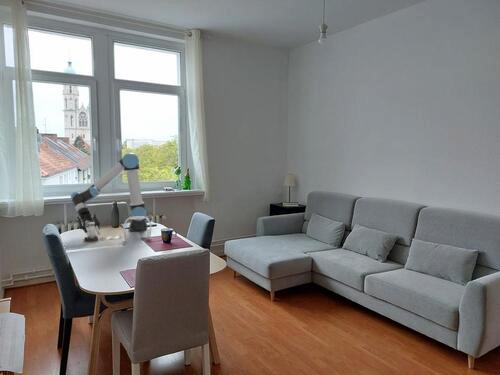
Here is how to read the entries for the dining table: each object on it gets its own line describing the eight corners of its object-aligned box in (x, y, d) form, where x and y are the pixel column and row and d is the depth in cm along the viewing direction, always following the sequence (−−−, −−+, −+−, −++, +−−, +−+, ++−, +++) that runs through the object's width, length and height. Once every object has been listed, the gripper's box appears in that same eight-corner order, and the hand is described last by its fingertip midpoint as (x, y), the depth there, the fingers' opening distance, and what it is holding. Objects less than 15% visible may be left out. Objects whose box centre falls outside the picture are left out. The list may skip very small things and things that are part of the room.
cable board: (120, 237, 270) (120, 232, 270) (122, 240, 261) (121, 235, 261) (83, 241, 259) (83, 236, 259) (83, 244, 250) (83, 239, 250)
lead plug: (95, 238, 260) (94, 221, 259) (95, 240, 256) (94, 222, 255) (88, 239, 258) (87, 222, 257) (88, 241, 254) (87, 223, 253)
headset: (151, 237, 269) (151, 214, 267) (151, 239, 262) (151, 216, 261) (124, 239, 264) (123, 216, 262) (123, 242, 257) (122, 218, 255)
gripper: (94, 211, 273) (105, 235, 264) (67, 215, 258) (79, 240, 249) (97, 205, 269) (109, 229, 260) (70, 208, 254) (82, 234, 245)
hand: (94, 234), depth 254 cm, fingers open, 7 cm apart
